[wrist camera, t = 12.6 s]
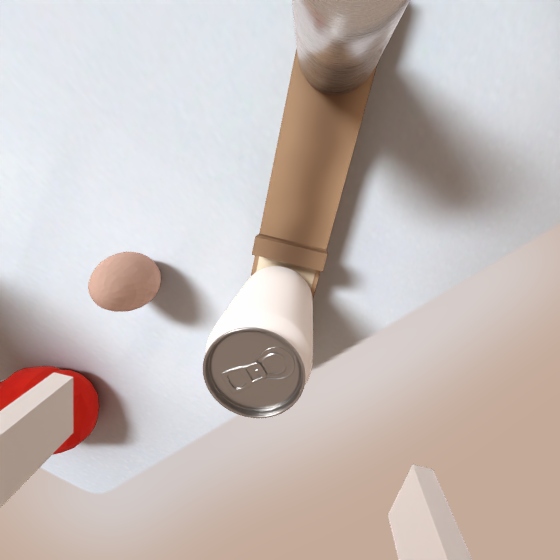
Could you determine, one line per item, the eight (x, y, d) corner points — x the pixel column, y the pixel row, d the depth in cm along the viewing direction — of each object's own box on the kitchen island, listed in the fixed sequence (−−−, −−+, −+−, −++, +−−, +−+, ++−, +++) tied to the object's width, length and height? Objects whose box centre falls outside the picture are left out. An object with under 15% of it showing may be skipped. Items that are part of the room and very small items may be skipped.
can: (324, 314, 27) (333, 402, 16) (263, 340, 29) (231, 438, 17) (292, 252, 26) (278, 300, 15) (230, 282, 27) (172, 348, 16)
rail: (243, 330, 32) (232, 352, 27) (316, -31, 22) (318, -84, 18) (297, 344, 31) (295, 368, 27) (395, -14, 22) (415, -64, 18)
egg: (182, 270, 30) (143, 293, 23) (154, 305, 32) (110, 337, 25) (140, 235, 30) (87, 248, 23) (114, 272, 31) (56, 296, 24)
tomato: (117, 422, 37) (79, 468, 31) (41, 424, 39) (-11, 469, 32) (94, 353, 35) (47, 388, 28) (13, 358, 36) (-50, 393, 30)
